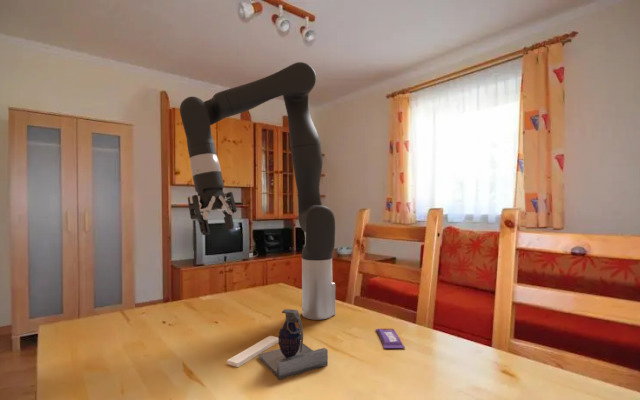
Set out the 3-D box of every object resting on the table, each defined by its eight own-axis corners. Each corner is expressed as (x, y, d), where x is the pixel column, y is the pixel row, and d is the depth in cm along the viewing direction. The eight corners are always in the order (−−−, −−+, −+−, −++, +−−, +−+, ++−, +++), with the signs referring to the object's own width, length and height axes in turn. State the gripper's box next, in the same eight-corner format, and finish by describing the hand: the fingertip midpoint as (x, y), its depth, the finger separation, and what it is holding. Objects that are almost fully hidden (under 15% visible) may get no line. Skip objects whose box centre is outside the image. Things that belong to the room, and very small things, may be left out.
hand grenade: (308, 354, 73) (308, 308, 73) (299, 364, 69) (299, 315, 69) (284, 350, 75) (284, 306, 75) (274, 360, 71) (274, 312, 71)
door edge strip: (269, 338, 84) (269, 335, 84) (279, 341, 82) (279, 337, 82) (227, 364, 71) (227, 360, 71) (237, 367, 69) (237, 363, 69)
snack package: (405, 343, 77) (383, 343, 77) (405, 352, 77) (383, 352, 77) (394, 325, 89) (375, 325, 89) (394, 332, 89) (375, 332, 89)
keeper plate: (302, 346, 79) (302, 332, 79) (327, 365, 70) (327, 349, 70) (258, 357, 74) (258, 343, 74) (279, 379, 64) (279, 363, 64)
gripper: (194, 170, 82) (208, 234, 82) (235, 169, 95) (246, 225, 95) (175, 176, 86) (187, 238, 86) (216, 175, 99) (227, 229, 98)
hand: (218, 231), depth 90 cm, fingers open, 8 cm apart
